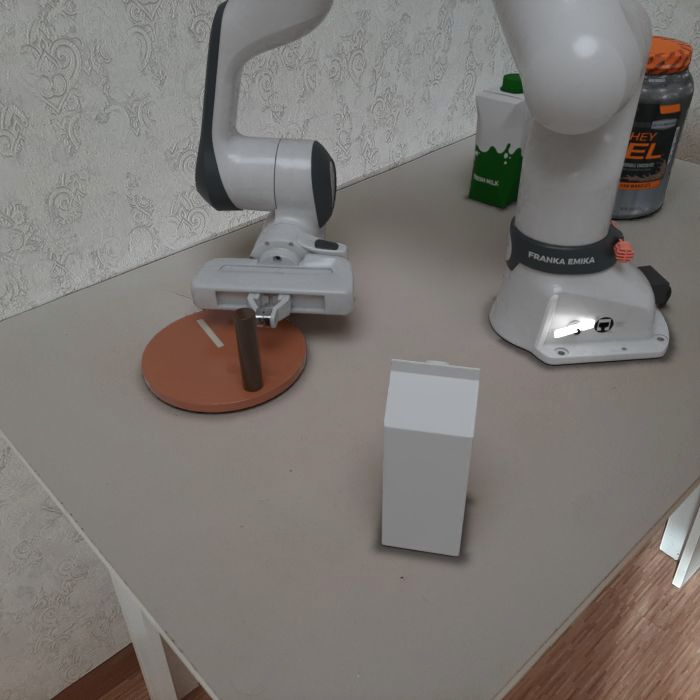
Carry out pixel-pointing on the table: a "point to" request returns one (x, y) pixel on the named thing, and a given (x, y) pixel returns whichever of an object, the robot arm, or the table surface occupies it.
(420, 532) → the milk carton
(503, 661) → the table surface
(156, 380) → the orange disc with rod
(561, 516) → the table surface
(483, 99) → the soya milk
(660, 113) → the supplement tub
